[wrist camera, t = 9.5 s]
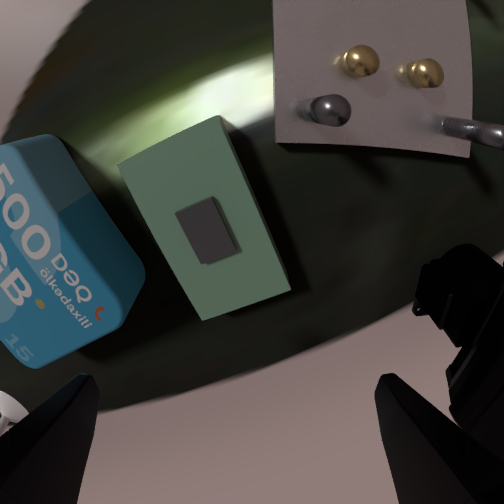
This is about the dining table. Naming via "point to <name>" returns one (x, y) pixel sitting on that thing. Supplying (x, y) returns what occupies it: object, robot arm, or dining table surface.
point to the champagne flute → (10, 411)
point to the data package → (58, 256)
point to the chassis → (376, 75)
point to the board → (206, 219)
